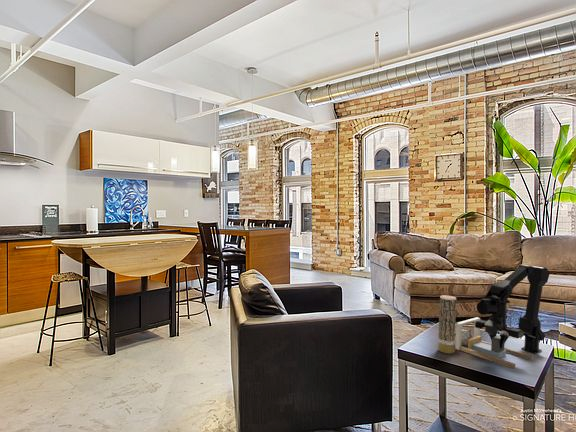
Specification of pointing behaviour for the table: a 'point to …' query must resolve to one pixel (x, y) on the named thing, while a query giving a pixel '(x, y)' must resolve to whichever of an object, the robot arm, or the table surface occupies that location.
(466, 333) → the game die
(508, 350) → the rails
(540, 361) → the table surface
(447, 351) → the bark log
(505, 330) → the robot arm
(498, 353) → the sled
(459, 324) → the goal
